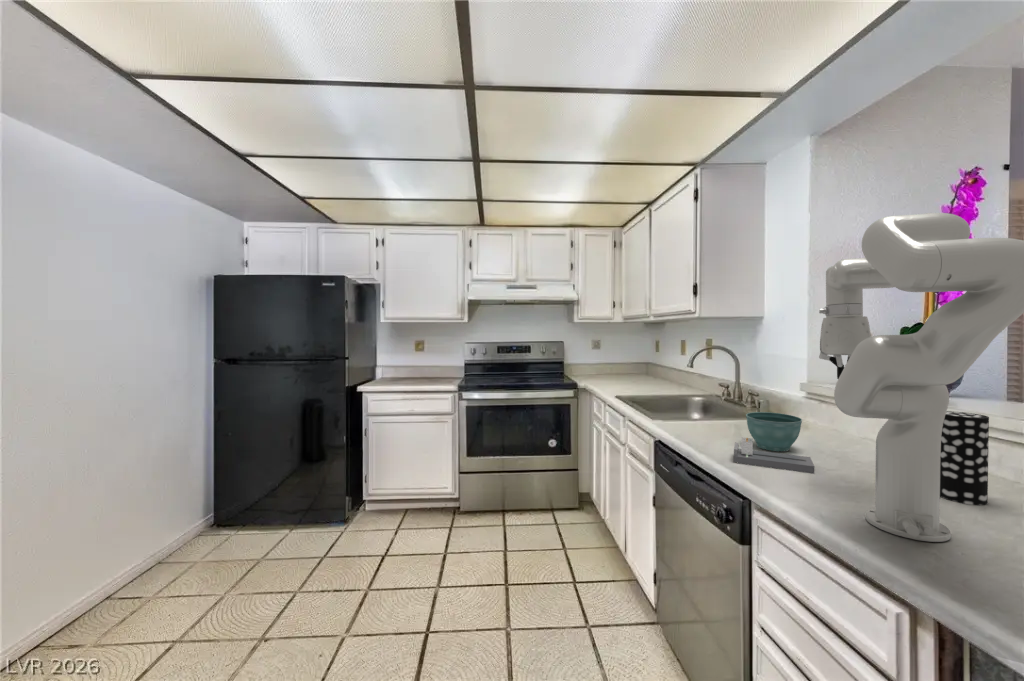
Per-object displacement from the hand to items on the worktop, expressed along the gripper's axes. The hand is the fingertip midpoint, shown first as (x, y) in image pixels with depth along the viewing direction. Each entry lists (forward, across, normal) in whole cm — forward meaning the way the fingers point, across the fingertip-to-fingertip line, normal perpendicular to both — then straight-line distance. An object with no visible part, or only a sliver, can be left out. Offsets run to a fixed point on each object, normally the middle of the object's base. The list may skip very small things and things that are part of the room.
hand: (844, 382), depth 108 cm
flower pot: (+26, -14, +31) cm, 43 cm away
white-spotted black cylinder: (+27, +22, +2) cm, 35 cm away
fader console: (+26, -16, +12) cm, 33 cm away
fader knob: (+24, -22, +12) cm, 35 cm away
